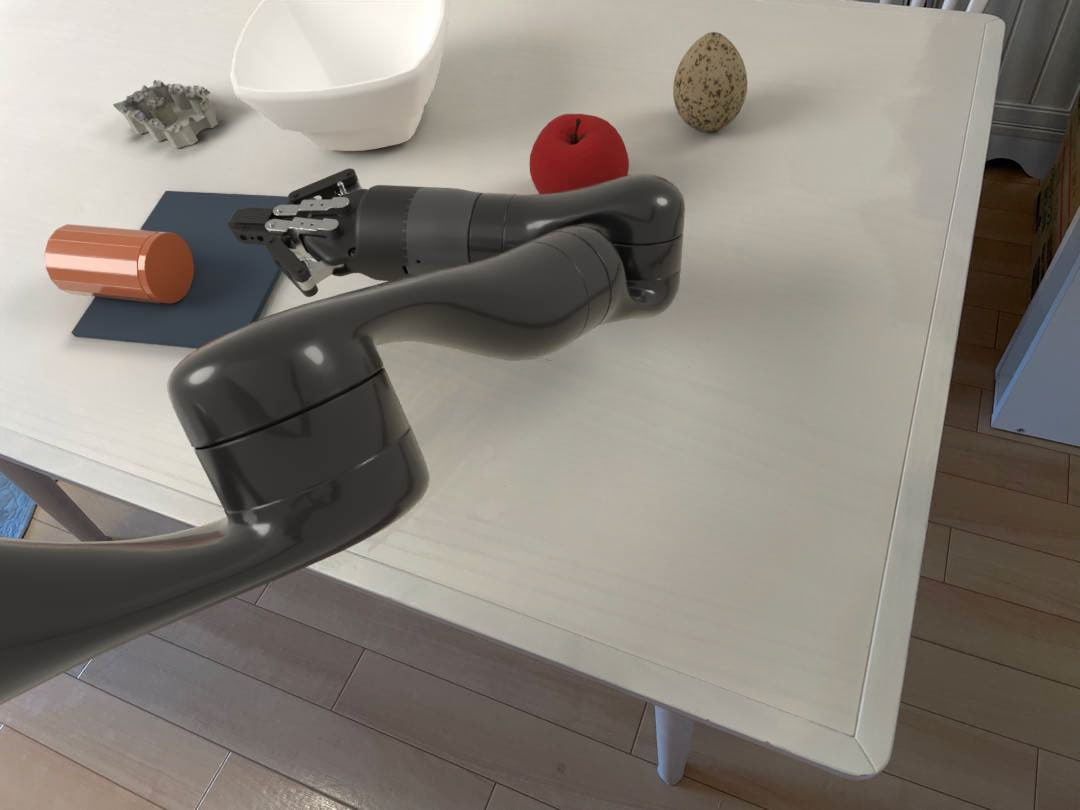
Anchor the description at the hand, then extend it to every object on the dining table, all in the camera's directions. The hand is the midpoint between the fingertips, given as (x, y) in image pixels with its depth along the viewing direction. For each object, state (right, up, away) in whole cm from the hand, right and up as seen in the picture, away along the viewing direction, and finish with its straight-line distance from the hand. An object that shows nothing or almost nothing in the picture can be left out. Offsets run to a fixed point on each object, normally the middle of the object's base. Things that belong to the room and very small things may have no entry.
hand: (235, 225), depth 66 cm
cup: (-9, -2, +8) cm, 12 cm away
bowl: (+7, +17, +23) cm, 29 cm away
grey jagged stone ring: (-18, +18, +28) cm, 38 cm away
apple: (+30, +5, +11) cm, 32 cm away
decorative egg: (+43, +14, +15) cm, 48 cm away
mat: (-8, -1, +13) cm, 16 cm away
